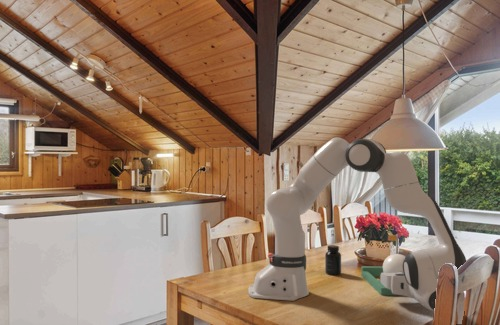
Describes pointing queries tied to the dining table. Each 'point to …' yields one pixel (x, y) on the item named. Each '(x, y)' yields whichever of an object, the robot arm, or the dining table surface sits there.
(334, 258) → the supplement bottle
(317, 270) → the dining table surface
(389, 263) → the ball
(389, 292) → the putting mat
